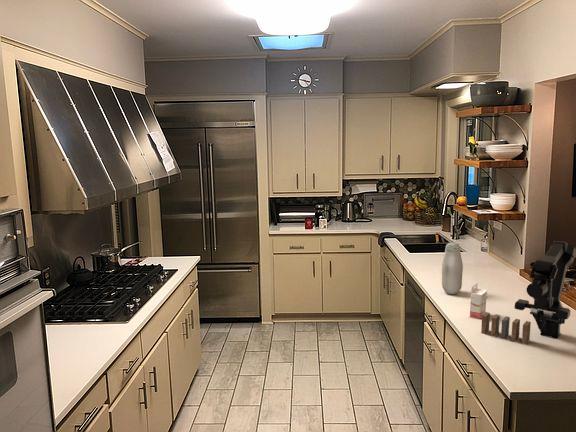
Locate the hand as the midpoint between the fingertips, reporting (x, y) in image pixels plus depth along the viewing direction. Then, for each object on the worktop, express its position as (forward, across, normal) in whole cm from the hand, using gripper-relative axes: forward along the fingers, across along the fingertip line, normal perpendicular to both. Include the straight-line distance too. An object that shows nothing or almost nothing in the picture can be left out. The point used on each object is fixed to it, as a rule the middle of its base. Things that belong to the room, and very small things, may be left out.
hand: (540, 329), depth 183 cm
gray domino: (+7, +13, 0) cm, 15 cm away
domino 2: (+7, +17, 0) cm, 18 cm away
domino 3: (+7, +9, 0) cm, 11 cm away
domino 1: (+7, +21, 0) cm, 22 cm away
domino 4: (+7, +5, 0) cm, 8 cm away
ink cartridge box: (+7, +30, -17) cm, 35 cm away
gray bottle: (+7, +52, -40) cm, 66 cm away
